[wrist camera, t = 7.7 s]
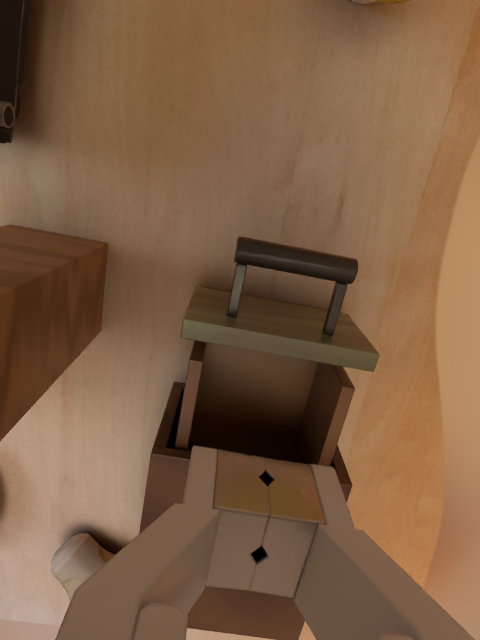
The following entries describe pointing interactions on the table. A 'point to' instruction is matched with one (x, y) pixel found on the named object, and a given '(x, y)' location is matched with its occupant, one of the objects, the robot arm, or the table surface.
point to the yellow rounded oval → (382, 0)
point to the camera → (12, 61)
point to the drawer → (271, 362)
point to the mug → (78, 561)
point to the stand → (44, 311)
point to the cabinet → (217, 603)
